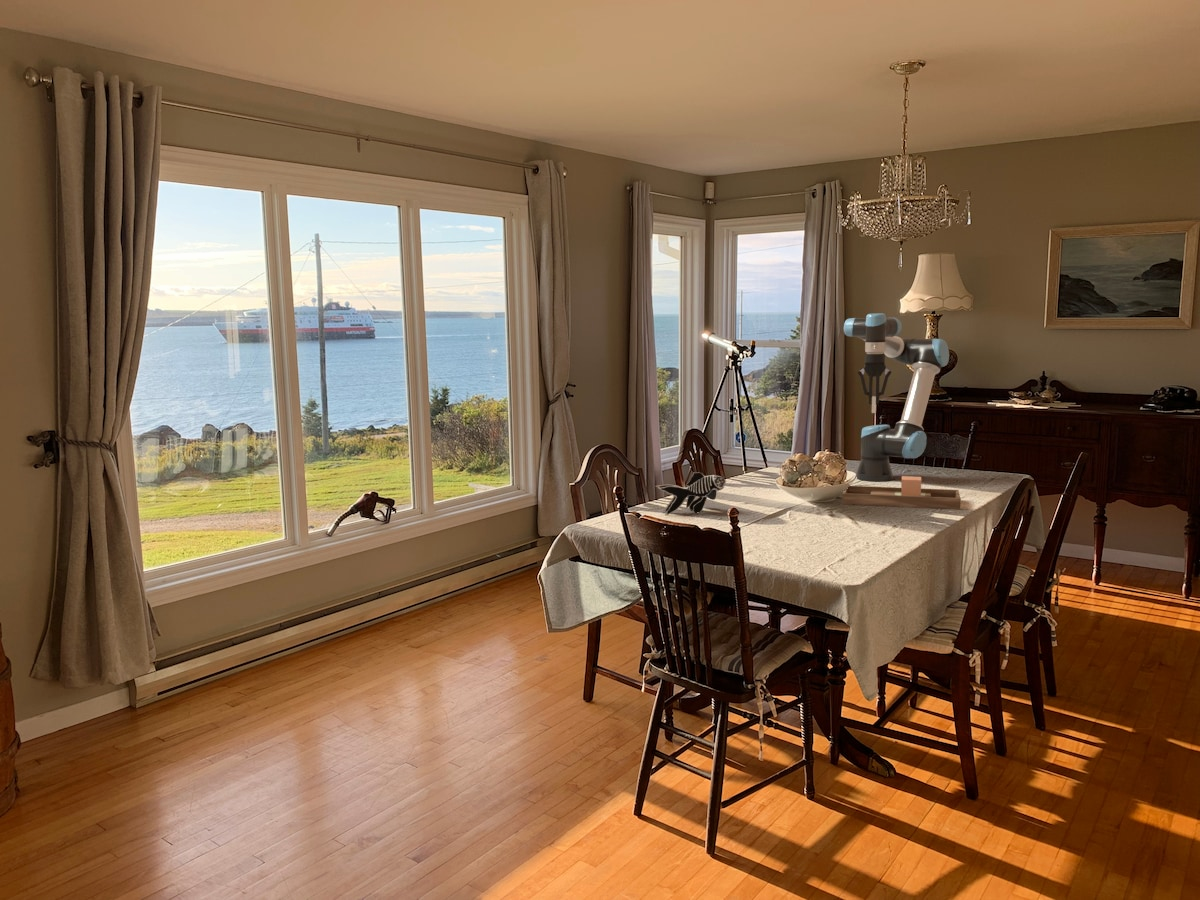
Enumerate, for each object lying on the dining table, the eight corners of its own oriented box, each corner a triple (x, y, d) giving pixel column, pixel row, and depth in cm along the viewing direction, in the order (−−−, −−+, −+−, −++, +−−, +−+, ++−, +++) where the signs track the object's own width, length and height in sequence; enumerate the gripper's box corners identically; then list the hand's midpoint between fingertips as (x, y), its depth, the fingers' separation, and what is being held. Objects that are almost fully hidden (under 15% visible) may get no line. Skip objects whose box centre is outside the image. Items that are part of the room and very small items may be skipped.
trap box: (844, 495, 359) (845, 485, 358) (958, 500, 345) (958, 489, 344) (842, 504, 344) (842, 493, 343) (960, 509, 330) (960, 498, 330)
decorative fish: (737, 505, 331) (729, 467, 329) (670, 525, 327) (661, 486, 324) (723, 497, 347) (715, 460, 344) (658, 516, 342) (650, 479, 339)
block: (901, 493, 347) (901, 476, 346) (920, 494, 345) (921, 476, 343) (901, 497, 340) (901, 479, 339) (920, 498, 338) (921, 480, 337)
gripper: (857, 353, 352) (856, 413, 356) (892, 353, 348) (890, 414, 352) (858, 352, 359) (857, 411, 363) (892, 352, 355) (891, 411, 359)
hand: (873, 412), depth 358 cm, fingers closed
